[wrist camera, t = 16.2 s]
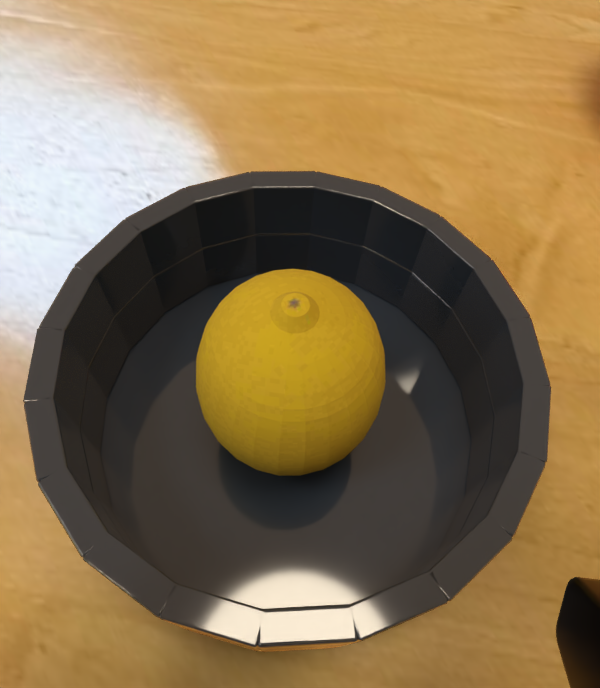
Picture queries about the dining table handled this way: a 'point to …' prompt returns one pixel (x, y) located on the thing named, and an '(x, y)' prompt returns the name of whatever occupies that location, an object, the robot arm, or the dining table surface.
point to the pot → (268, 489)
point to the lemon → (290, 372)
